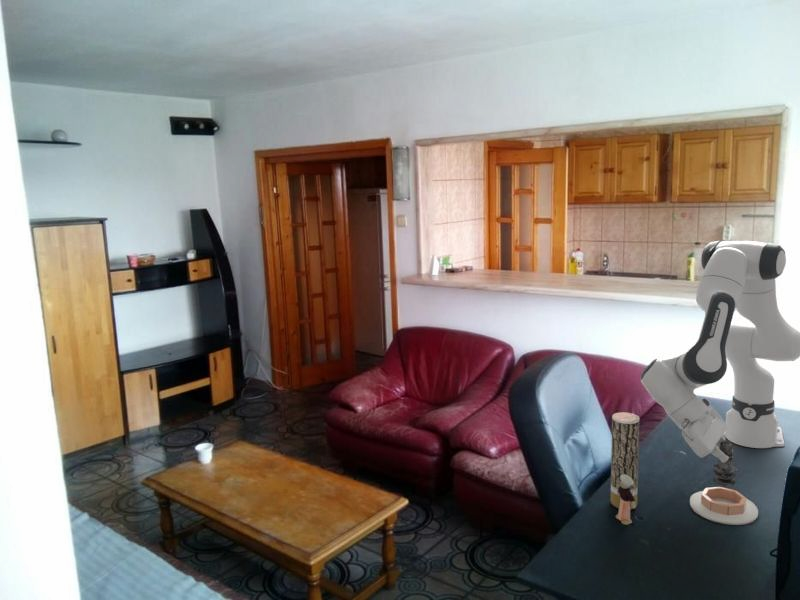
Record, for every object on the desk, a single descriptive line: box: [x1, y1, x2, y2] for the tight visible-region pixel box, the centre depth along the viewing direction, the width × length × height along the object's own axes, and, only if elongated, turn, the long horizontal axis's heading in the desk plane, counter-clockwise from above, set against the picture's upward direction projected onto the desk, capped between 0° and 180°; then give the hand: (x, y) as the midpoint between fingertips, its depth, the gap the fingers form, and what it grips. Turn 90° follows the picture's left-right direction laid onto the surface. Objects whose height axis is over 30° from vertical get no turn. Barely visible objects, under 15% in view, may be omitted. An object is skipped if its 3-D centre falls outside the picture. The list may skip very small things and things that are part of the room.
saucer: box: [689, 486, 759, 526], centre depth 165 cm, size 16×16×4 cm
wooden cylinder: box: [610, 411, 640, 510], centre depth 167 cm, size 7×7×25 cm
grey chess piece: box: [712, 437, 739, 487], centre depth 163 cm, size 6×6×12 cm
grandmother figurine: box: [615, 474, 637, 526], centre depth 160 cm, size 8×4×13 cm, turn 23°
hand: (728, 457), depth 162 cm, fingers closed on grey chess piece, 4 cm apart
